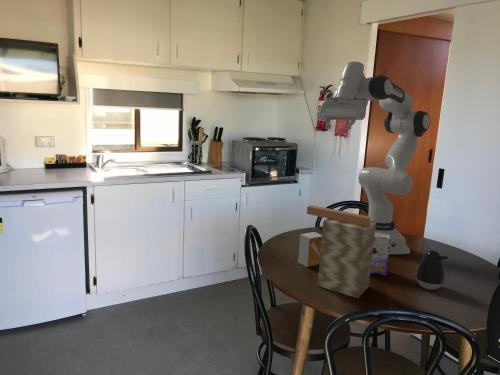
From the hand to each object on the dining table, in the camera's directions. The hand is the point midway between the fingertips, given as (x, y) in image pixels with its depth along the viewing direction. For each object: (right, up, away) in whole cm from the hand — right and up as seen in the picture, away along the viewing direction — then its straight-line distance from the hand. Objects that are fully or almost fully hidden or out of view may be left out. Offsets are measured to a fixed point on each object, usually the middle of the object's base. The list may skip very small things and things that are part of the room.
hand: (337, 128), depth 174 cm
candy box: (+15, -60, +5) cm, 62 cm away
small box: (-10, -57, +10) cm, 59 cm away
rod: (-3, -36, -14) cm, 39 cm away
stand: (0, -62, -11) cm, 63 cm away
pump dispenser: (+34, -63, -8) cm, 72 cm away
